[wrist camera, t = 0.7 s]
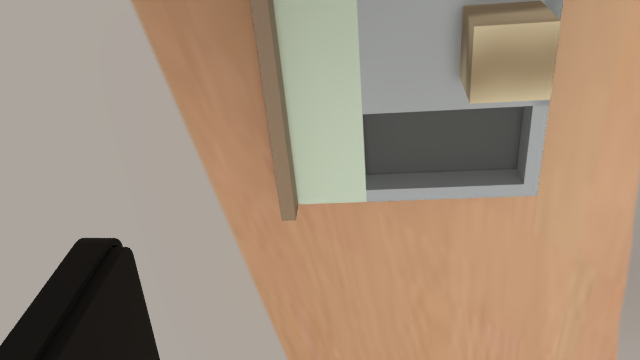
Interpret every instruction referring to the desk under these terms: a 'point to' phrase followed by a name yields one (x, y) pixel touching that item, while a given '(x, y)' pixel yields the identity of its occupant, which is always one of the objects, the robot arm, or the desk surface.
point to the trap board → (386, 106)
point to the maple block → (508, 51)
